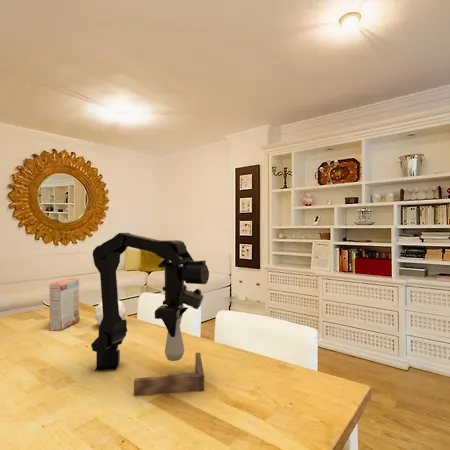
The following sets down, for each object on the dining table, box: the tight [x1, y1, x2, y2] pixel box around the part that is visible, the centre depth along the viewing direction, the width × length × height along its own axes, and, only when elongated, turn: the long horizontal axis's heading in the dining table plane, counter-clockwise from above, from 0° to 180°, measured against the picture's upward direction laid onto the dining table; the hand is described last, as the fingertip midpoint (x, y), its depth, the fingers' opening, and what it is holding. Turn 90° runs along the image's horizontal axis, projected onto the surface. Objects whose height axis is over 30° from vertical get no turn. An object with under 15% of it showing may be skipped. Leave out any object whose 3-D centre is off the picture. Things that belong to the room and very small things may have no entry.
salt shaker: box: [164, 316, 185, 362], centre depth 95 cm, size 6×6×13 cm
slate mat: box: [166, 372, 197, 376], centre depth 94 cm, size 9×9×1 cm
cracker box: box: [48, 278, 80, 331], centre depth 148 cm, size 14×6×21 cm, turn 172°
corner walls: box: [133, 352, 205, 397], centre depth 96 cm, size 19×17×4 cm
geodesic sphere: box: [94, 299, 127, 326], centre depth 147 cm, size 14×14×14 cm
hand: (174, 334), depth 95 cm, fingers closed on salt shaker, 3 cm apart
